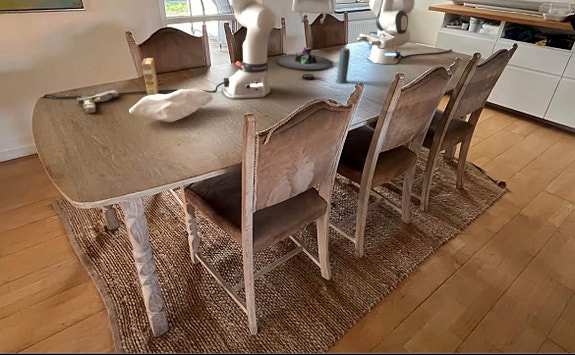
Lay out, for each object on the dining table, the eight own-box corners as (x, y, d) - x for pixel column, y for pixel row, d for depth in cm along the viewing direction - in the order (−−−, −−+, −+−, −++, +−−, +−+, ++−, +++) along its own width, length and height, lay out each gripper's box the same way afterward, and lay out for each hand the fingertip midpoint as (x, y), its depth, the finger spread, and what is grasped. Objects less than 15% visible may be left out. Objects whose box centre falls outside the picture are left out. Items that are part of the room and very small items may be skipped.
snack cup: (377, 45, 268) (379, 31, 262) (387, 48, 261) (390, 33, 255) (361, 47, 260) (363, 32, 255) (371, 51, 253) (374, 35, 248)
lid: (313, 80, 194) (314, 77, 193) (302, 79, 194) (302, 76, 193) (313, 76, 199) (314, 73, 198) (302, 76, 199) (303, 73, 198)
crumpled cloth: (117, 110, 146) (113, 90, 140) (195, 92, 166) (194, 73, 160) (143, 139, 134) (140, 118, 128) (223, 116, 154) (224, 96, 148)
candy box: (157, 97, 164) (152, 63, 155) (147, 98, 163) (141, 63, 155) (158, 91, 171) (153, 57, 163) (149, 91, 170) (143, 58, 162)
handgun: (128, 97, 156) (111, 87, 164) (86, 107, 144) (70, 97, 152) (129, 103, 157) (113, 94, 165) (88, 114, 146) (72, 103, 154)
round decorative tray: (344, 65, 218) (345, 49, 214) (297, 72, 201) (297, 55, 197) (309, 55, 243) (309, 41, 239) (264, 61, 226) (264, 46, 221)
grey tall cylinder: (335, 80, 195) (339, 48, 186) (344, 80, 196) (348, 47, 187) (338, 83, 191) (342, 50, 182) (347, 83, 192) (351, 50, 183)
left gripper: (292, -9, 172) (290, 22, 179) (335, -7, 170) (332, 24, 178) (293, -11, 177) (292, 20, 184) (335, -8, 176) (332, 22, 183)
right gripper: (372, 29, 200) (352, 31, 193) (399, 36, 185) (378, 38, 179) (370, 41, 203) (350, 43, 197) (396, 49, 188) (376, 52, 182)
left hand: (312, 22), depth 181 cm, fingers open, 8 cm apart
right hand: (364, 41), depth 188 cm, fingers open, 8 cm apart
